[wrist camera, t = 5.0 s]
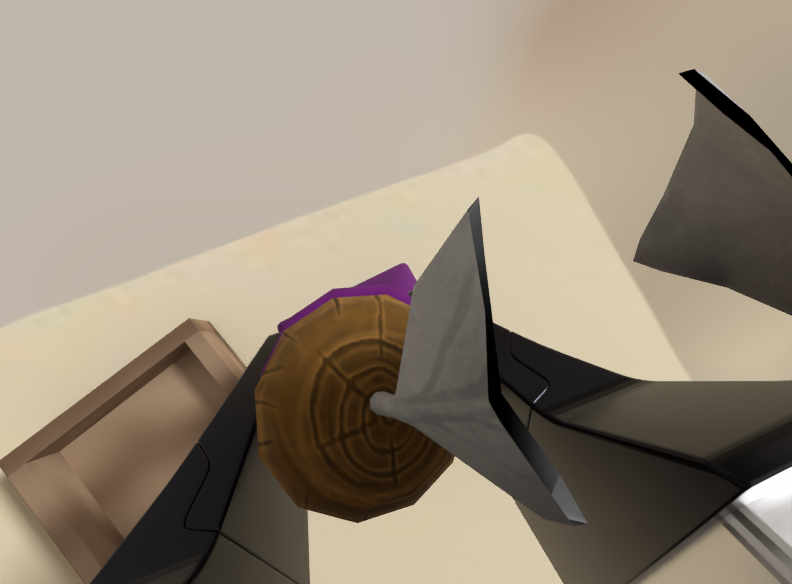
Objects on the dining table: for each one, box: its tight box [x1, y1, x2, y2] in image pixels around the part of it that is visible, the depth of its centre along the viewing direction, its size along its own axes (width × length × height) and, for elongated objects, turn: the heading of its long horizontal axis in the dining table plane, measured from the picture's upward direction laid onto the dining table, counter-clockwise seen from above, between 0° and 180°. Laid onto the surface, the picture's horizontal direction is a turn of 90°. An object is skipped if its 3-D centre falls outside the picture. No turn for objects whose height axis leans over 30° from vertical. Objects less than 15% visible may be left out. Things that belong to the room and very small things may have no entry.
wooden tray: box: [0, 318, 247, 584], centre depth 19 cm, size 11×12×2 cm
